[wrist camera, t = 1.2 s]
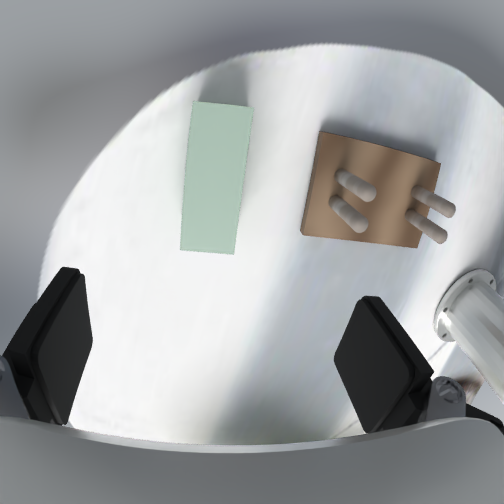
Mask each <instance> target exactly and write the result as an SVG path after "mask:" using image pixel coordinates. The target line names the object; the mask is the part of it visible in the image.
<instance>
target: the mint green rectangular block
mask: <svg viewBox="0 0 504 504" xmlns="http://www.w3.org/2000/svg"><path fill="white" fill-rule="evenodd" d="M253 112H254V108H253V107H246V106H238V105H229V104H219V103H209V102H197V101H193V105H192V113H191V121H190V130H189V139H188V149H187V159H186V170H185V182H184V194H183V208H182V223H181V241H180V250H184V251H196V252H208V253H220V254H233V255H234V250H235V242H236V234H237V227H238V219H239V212H240V204H241V197H242V189H243V182H244V175H245V167H246V160H247V153H248V146H249V139H250V132H251V125H252V118H253Z"/></svg>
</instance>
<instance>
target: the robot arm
mask: <svg viewBox="0 0 504 504" xmlns="http://www.w3.org/2000/svg"><path fill="white" fill-rule="evenodd" d="M434 329H435V332H436V334H437V335H438V337H439V338H440V339H441V340H443V341H446V342H453V341H456V342H457V344H458V345H459V346H460V347H461V349H462V350H463V351H464V352H465V354H466V355H467V356H468V358H469V359H470V360H471V361H472V363H473V364H474V365H475V367H476V368H477V369H478V371H479V372H480V373H481V375H482V376H483V377H484V379H485V380H486V381H487V382H488V384H489V385H490V387H491V388H492V389H493V391H494V392H495V393H496V395H497V396H498V397H499V399H500V400H501V402H502V403H503V404H504V299H503V298H502V297H501V296H500V295H499V294H498V293H497V292H496V281H495V278H494V277H493V275H492V274H491V273H489V272H488V271H486V270H484V269H477V270H473V271H471V272H469V273H467V274H465V275H464V276H462V277H461V278H460V279H459V280H457V281H456V282H455V283H454V284H453V285H452V286H451V288H450V289H449V290H448V291H447V293H446V294H445V296H444V297H443V299H442V300H441V302H440V304H439V306H438V308H437V311H436V314H435V319H434ZM92 342H93V337H92V331H91V324H90V317H89V310H88V302H87V294H86V284H85V276H84V274H80V271H79V269H76V268H69V267H62V268H61V269H60V270H59V271H58V273H57V274H56V276H55V277H54V278H53V280H52V281H51V283H50V284H49V285H48V287H47V288H46V290H45V291H44V293H43V294H42V295H41V297H40V298H39V300H38V301H37V303H35V304H34V305H33V306H32V308H31V309H30V311H29V313H28V314H27V316H26V317H25V319H24V320H23V322H22V323H21V325H20V327H19V328H18V330H17V331H16V333H15V335H14V336H13V338H12V340H11V341H10V343H9V345H8V346H7V348H6V350H5V351H4V353H3V355H2V356H1V355H0V504H504V426H503V423H502V421H501V420H500V419H498V418H496V417H494V416H492V415H490V414H488V413H486V412H483V411H481V410H479V409H477V408H475V407H473V406H471V405H469V404H467V403H466V394H465V392H464V389H463V388H462V387H461V385H460V384H459V383H457V382H456V381H455V380H453V379H451V378H449V377H445V376H440V377H436V378H435V379H434V380H433V381H432V380H431V379H430V377H431V376H432V374H433V373H434V370H433V369H432V368H431V366H430V365H429V363H428V362H427V360H426V359H425V358H424V356H423V355H422V353H421V352H420V351H419V349H418V348H417V346H416V345H415V344H414V342H413V341H412V339H411V338H410V337H409V335H408V334H407V333H406V331H405V330H404V329H403V327H402V326H401V325H400V323H399V322H398V321H397V319H396V318H395V317H394V315H393V314H392V313H391V311H390V310H389V309H388V307H387V306H386V305H385V303H384V302H383V301H382V300H381V298H380V297H377V296H364V297H362V299H361V300H359V301H358V302H357V304H356V306H355V308H354V311H353V313H352V316H351V318H350V320H349V323H348V325H347V328H346V330H345V332H344V334H343V337H342V339H341V341H340V343H339V346H338V348H337V350H336V352H335V355H334V363H335V365H336V368H337V370H338V372H339V374H340V377H341V379H342V381H343V384H344V386H345V388H346V390H347V393H348V395H349V397H350V400H351V402H352V404H353V406H354V409H355V411H356V413H357V416H358V418H359V420H360V423H361V425H362V427H363V430H364V431H365V432H366V433H368V434H363V435H357V436H351V437H344V438H337V439H329V440H321V441H311V442H301V443H288V444H271V445H198V444H181V443H168V442H157V441H148V440H140V439H132V438H125V437H119V436H112V435H106V434H100V433H94V432H89V431H84V430H79V429H74V428H69V427H65V426H62V424H64V425H66V424H67V422H68V419H69V416H70V412H71V409H72V405H73V402H74V399H75V395H76V392H77V389H78V386H79V383H80V380H81V377H82V374H83V371H84V368H85V365H86V362H87V359H88V356H89V353H90V351H91V348H92Z"/></svg>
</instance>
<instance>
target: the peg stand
mask: <svg viewBox="0 0 504 504" xmlns="http://www.w3.org/2000/svg"><path fill="white" fill-rule="evenodd" d="M440 166H441V163H438V162H435V161H432V160H429V159H426V158H423V157H419V156H416V155H413V154H410V153H406V152H403V151H399V150H396V149H392V148H389V147H385V146H381V145H377V144H373V143H370V142H366V141H362V140H357V139H353V138H349V137H345V136H340V135H335V134H331V133H326V132H321V131H319V136H318V142H317V147H316V153H315V158H314V164H313V169H312V174H311V179H310V185H309V190H308V195H307V200H306V205H305V210H304V215H303V219H302V224H301V229H300V231H301V233H302V234H303V235H306V236H315V237H324V238H333V239H342V240H351V241H360V242H369V243H377V244H386V245H394V246H402V247H410V248H417V247H418V244H419V241H420V238H421V235H422V232H424V233H425V234H426V235H428V236H429V237H430V238H432V239H433V240H434V241H436V242H437V243H438V244H442V243H444V242H445V241H446V239H447V232H446V231H445V230H444V229H442V228H441V227H440V226H438V225H437V224H435V223H434V222H432V221H431V220H429V219H427V215H428V212H429V209H430V207H431V208H432V209H434V210H436V211H437V212H439V213H441V214H442V215H444V216H446V217H447V218H451V217H452V216H453V215H454V213H455V210H456V208H455V205H454V204H453V203H451V202H449V201H447V200H445V199H444V198H442V197H440V196H438V195H436V194H434V190H435V186H436V182H437V178H438V174H439V170H440Z"/></svg>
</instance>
